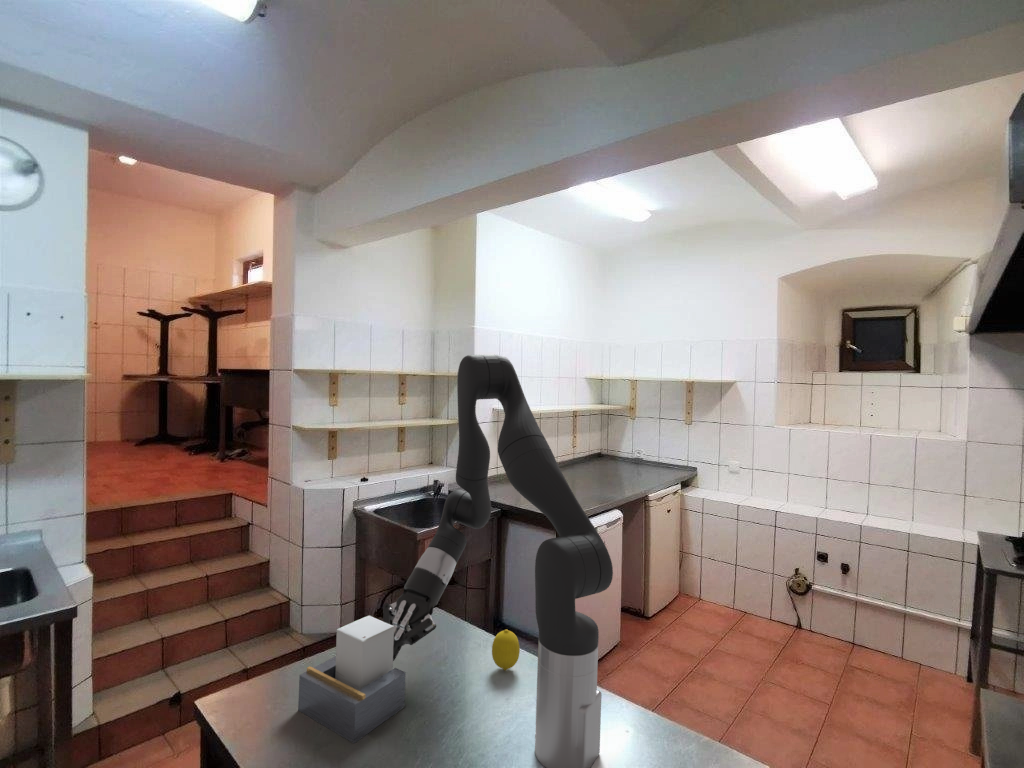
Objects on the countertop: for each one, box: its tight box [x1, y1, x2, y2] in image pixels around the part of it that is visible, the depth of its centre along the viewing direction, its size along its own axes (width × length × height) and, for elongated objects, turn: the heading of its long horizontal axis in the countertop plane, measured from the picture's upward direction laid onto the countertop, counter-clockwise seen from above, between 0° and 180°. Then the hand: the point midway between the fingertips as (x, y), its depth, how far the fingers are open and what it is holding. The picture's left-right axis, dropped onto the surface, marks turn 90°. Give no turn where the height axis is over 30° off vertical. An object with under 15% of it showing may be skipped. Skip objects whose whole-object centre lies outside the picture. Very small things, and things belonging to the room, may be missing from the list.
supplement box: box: [335, 615, 394, 690], centre depth 89 cm, size 7×7×13 cm
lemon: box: [491, 629, 521, 672], centre depth 100 cm, size 6×6×8 cm
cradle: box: [297, 655, 407, 744], centre depth 86 cm, size 14×11×7 cm
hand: (384, 661), depth 93 cm, fingers closed
